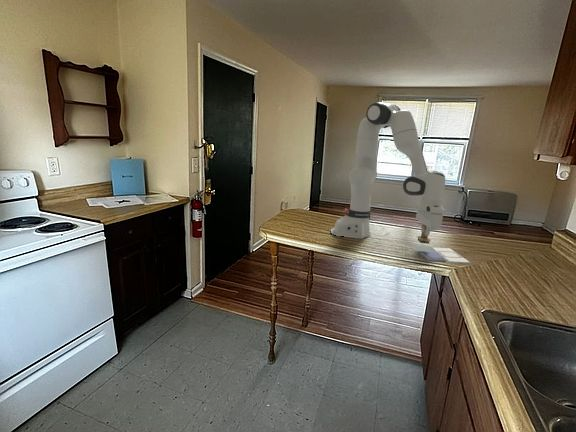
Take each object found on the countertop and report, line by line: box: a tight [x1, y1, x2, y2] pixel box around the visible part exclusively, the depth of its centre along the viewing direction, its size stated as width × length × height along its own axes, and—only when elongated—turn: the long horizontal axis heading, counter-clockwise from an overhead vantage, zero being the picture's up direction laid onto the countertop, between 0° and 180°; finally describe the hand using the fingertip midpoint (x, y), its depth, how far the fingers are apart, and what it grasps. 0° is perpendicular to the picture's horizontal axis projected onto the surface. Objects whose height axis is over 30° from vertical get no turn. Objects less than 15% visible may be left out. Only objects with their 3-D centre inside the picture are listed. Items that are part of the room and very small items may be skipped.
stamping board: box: [409, 245, 473, 264], centre depth 147 cm, size 20×20×2 cm
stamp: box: [417, 225, 432, 244], centre depth 151 cm, size 4×4×8 cm
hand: (424, 233), depth 151 cm, fingers closed on stamp, 3 cm apart
